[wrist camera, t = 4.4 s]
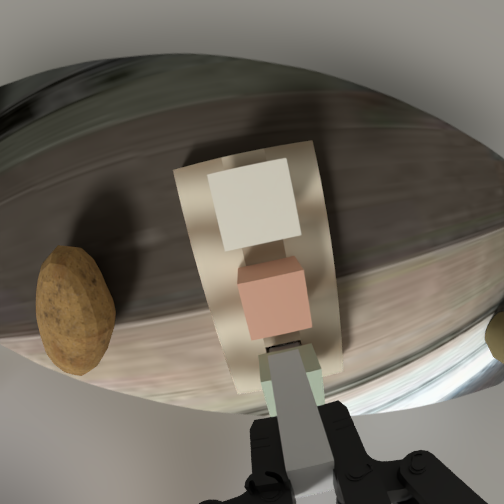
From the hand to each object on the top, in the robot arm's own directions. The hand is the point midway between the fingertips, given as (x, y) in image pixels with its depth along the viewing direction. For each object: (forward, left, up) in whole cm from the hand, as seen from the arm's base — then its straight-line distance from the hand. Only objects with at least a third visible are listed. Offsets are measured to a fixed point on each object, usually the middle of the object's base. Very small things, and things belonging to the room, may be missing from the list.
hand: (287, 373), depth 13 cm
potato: (-12, -16, -15) cm, 25 cm away
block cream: (-6, +4, -13) cm, 15 cm away
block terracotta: (0, 0, -15) cm, 15 cm away
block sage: (+7, -4, -13) cm, 15 cm away
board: (0, 0, -15) cm, 15 cm away
